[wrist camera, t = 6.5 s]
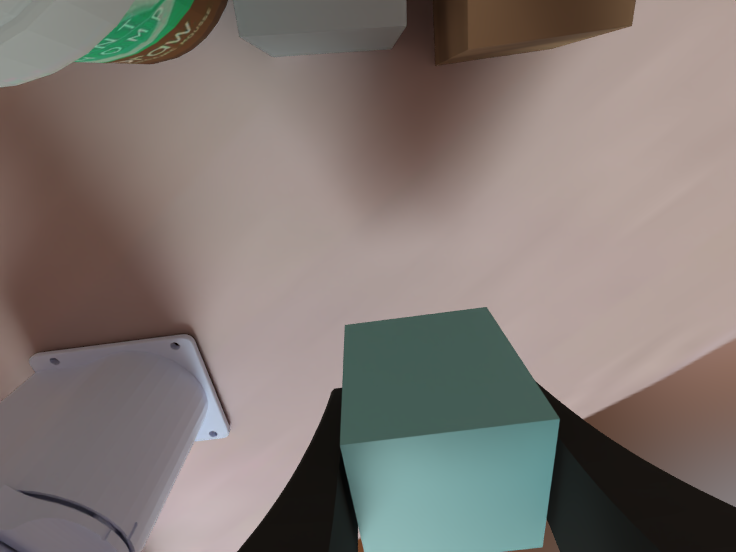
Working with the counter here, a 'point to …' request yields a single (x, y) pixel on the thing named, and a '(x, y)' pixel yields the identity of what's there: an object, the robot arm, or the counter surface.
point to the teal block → (444, 436)
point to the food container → (98, 33)
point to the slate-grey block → (320, 25)
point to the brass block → (520, 25)
